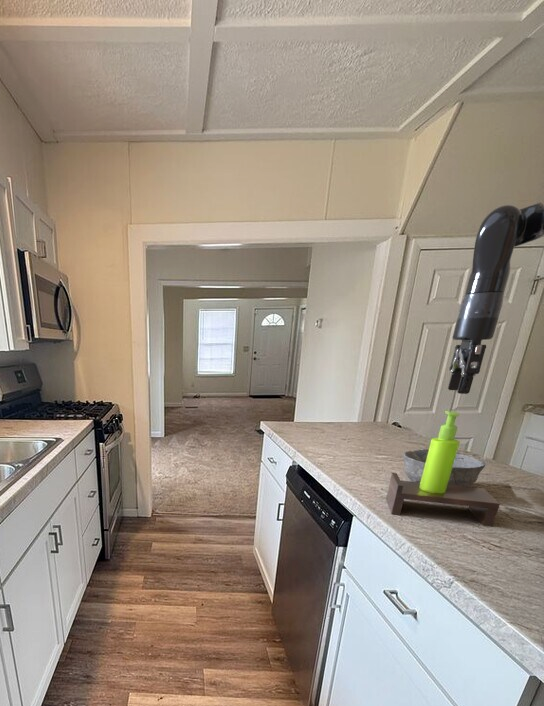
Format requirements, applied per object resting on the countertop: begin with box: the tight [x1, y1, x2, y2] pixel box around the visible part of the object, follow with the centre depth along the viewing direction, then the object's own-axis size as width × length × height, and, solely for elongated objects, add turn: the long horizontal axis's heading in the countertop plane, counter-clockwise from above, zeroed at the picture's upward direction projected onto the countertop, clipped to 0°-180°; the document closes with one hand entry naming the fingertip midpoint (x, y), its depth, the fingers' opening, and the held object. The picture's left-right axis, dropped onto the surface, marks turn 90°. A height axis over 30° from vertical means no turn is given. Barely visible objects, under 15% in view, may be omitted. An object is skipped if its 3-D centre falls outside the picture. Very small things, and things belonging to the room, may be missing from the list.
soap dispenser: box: [419, 410, 461, 493], centre depth 102 cm, size 6×7×20 cm
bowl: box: [403, 449, 487, 487], centre depth 122 cm, size 21×21×10 cm
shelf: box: [385, 472, 501, 527], centre depth 105 cm, size 22×12×8 cm, turn 69°
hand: (457, 391), depth 96 cm, fingers open, 8 cm apart
